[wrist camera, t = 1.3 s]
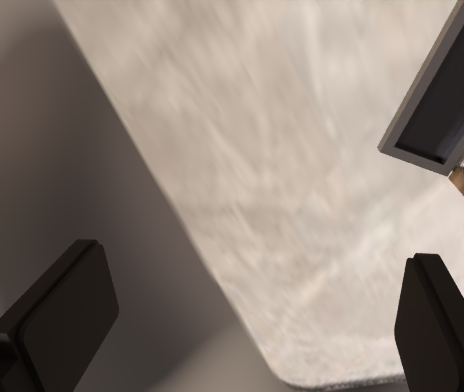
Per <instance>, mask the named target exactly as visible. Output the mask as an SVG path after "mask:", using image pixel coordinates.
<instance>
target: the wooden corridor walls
mask: <svg viewBox="0 0 464 392" xmlns="http://www.w3.org/2000/svg"><path fill="white" fill-rule="evenodd" d="M449 180H450V181H451V182H452V183H453V184H454V185H455V186H456V188H457V189H458V190H459V191H460V192H461V193H462V194H463V196H464V169H463V168H460V167H457V166H456V168H455V169H454V171H453V172H452V174H451V175H450V177H449Z"/></svg>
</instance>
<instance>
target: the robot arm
mask: <svg viewBox="0 0 464 392" xmlns="http://www.w3.org/2000/svg"><path fill="white" fill-rule="evenodd" d="M118 313H119V305H118V302H117V298H116V294H115V290H114V287H113V282H112V279H111V275H110V271H109V267H108V263H107V260H106V255H105V252H104V248H103V246H102V245H101V244H99V243H98V241H97V240H91V239H78V240H76V241H75V242H74V243H73V244H72V245H71V246H70V247H69V248H68V249H67V250H66V251H65V252H64V253H63V254H62V255H61V256H60V257H59V258H58V259H57V260H56V262H54V264H52V265H51V266H50V268H49V269H48V270H47V271H46V272H45V273H44V274H43V275H42V276H41V277H40V278H39V279H38V280H37V281H36V282H35V283H34V284H33V285H32V286H31V287H30V288H29V289H28V290H27V291H26V292H25V293H24V294H23V295H22V296H21V297H20V298H19V299H18V300H17V301H16V302H15V303H14V304H13V305H12V307H10V308H9V310H7V311H6V313H5V314H4V315H3V316H2V317H1V318H0V392H73V391H74V389H75V387H76V385H77V384H78V382H79V381H80V379H81V377H82V376H83V374H84V372H85V370H86V369H87V367H88V365H89V364H90V362H91V360H92V359H93V357H94V355H95V354H96V352H97V350H98V349H99V347H100V345H101V344H102V342H103V340H104V339H105V337H106V335H107V334H108V332H109V330H110V329H111V327H112V325H113V324H114V322H115V320H116V319H117V317H118ZM394 335H395V341H396V345H397V348H398V352H399V355H400V359H401V362H402V366H403V369H404V373H405V376H406V380H407V383H408V387H409V390H410V392H464V298H463V296H462V294H461V292H460V291H459V289H458V287H457V285H456V284H455V282H454V280H453V278H452V277H451V275H450V273H449V271H448V269H447V268H446V266H445V264H444V262H443V261H442V259H441V257H440V256H439V255H438V254H425V253H416V254H415V255H414V257H413V258H408V259H407V261H406V266H405V272H404V277H403V283H402V289H401V294H400V300H399V305H398V311H397V317H396V322H395V328H394Z"/></svg>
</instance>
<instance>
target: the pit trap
mask: <svg viewBox="0 0 464 392" xmlns="http://www.w3.org/2000/svg"><path fill="white" fill-rule="evenodd" d="M377 148H378V150H379V151H380V152H381V153H384V154H387V155H389V156H392V157H395V158H398V159H400V160H403V161H406V162H408V163H411V164H414V165H417V166H419V167H422V168H425V169H428V170H430V171H433V172H436V173H439V174H441V175H444V176H448V175H449V173H450V172H451V170H452V169H453V167H454V166H455V164H456V163H457V161H458V160H459V158H460V157H461V156H462V154H463V153H464V0H458V1H457V3H456V5H455V7H454V9H453V10H452V12H451V14H450V16H449V18H448V20H447V21H446V23H445V25H444V27H443V29H442V30H441V32H440V34H439V36H438V38H437V40H436V41H435V43H434V45H433V47H432V49H431V50H430V52H429V54H428V56H427V58H426V60H425V61H424V63H423V65H422V67H421V69H420V70H419V72H418V74H417V76H416V78H415V80H414V81H413V83H412V85H411V87H410V89H409V91H408V92H407V94H406V96H405V98H404V100H403V101H402V103H401V105H400V107H399V109H398V111H397V112H396V114H395V116H394V118H393V120H392V121H391V123H390V125H389V127H388V129H387V131H386V132H385V134H384V136H383V138H382V140H381V141H380V143H379V145H378V147H377Z"/></svg>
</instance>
